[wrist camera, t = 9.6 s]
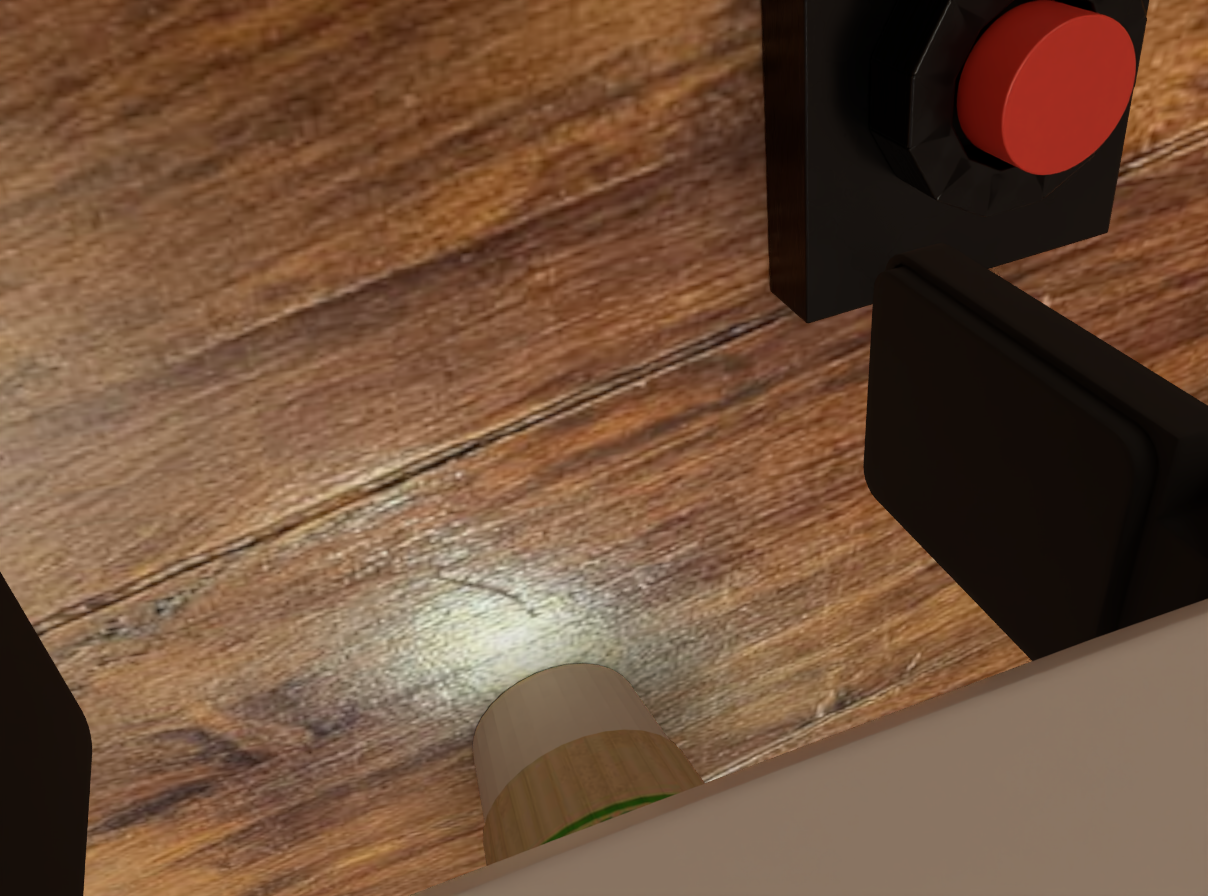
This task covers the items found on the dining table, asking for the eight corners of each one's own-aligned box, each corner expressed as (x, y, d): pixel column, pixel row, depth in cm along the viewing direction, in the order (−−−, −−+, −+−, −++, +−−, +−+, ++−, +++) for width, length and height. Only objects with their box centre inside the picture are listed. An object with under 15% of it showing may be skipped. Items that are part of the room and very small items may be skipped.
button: (961, 17, 24) (1011, 33, 22) (1094, -16, 24) (1150, -1, 23) (950, 168, 26) (994, 192, 24) (1072, 134, 27) (1122, 155, 25)
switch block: (755, -182, 23) (848, -170, 20) (1125, -251, 26) (1260, -251, 22) (769, 292, 31) (840, 354, 27) (1058, 207, 33) (1154, 256, 29)
